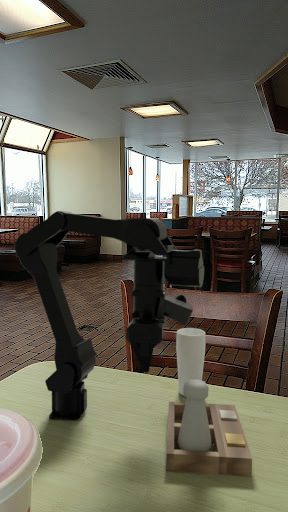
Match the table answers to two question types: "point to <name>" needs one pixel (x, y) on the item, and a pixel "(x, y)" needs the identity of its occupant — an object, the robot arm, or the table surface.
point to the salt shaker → (195, 418)
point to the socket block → (222, 436)
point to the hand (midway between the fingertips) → (147, 363)
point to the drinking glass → (190, 355)
